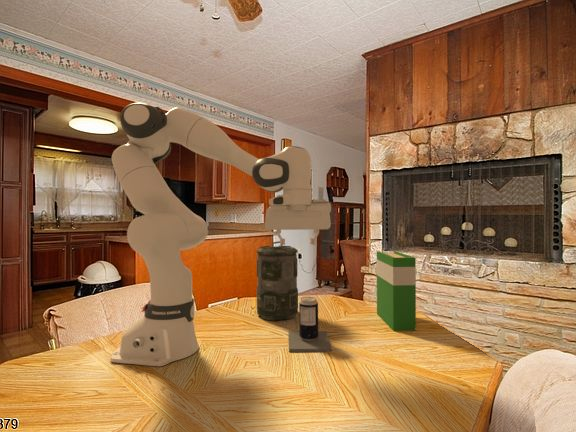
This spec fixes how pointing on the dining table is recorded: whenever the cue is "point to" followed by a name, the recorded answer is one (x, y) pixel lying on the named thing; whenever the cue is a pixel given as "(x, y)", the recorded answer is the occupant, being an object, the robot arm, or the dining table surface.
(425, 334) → the dining table surface
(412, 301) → the hardback book
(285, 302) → the canister
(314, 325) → the beverage can
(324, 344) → the mat
